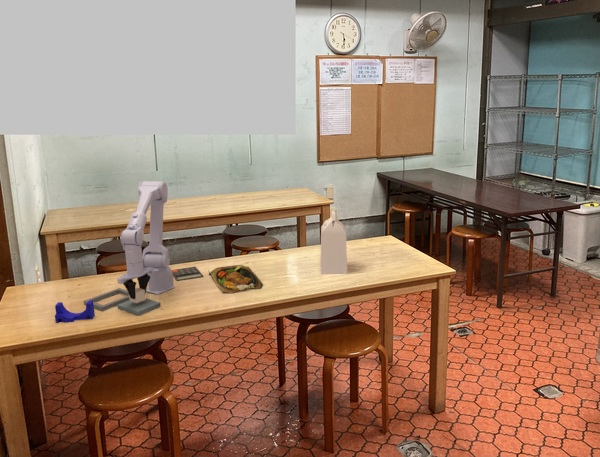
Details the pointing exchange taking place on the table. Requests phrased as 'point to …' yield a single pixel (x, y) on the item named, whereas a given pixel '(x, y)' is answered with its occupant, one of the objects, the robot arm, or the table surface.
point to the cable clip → (67, 316)
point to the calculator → (186, 273)
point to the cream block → (138, 295)
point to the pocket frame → (106, 295)
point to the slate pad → (138, 306)
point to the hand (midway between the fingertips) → (138, 296)
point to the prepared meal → (235, 278)
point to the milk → (333, 247)
